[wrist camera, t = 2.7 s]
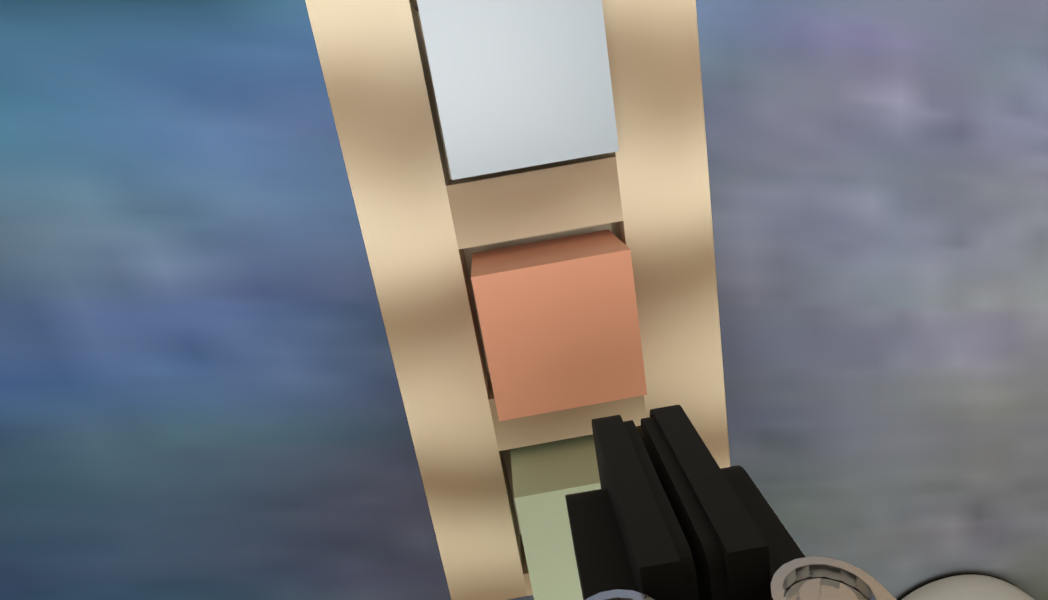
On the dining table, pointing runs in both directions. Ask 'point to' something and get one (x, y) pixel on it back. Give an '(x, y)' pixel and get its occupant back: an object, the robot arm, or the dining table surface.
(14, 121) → the dining table surface
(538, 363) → the terracotta button
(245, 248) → the dining table surface
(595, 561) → the robot arm
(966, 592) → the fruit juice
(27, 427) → the dining table surface
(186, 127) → the dining table surface
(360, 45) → the button panel
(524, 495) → the sage button
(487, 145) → the slate button
